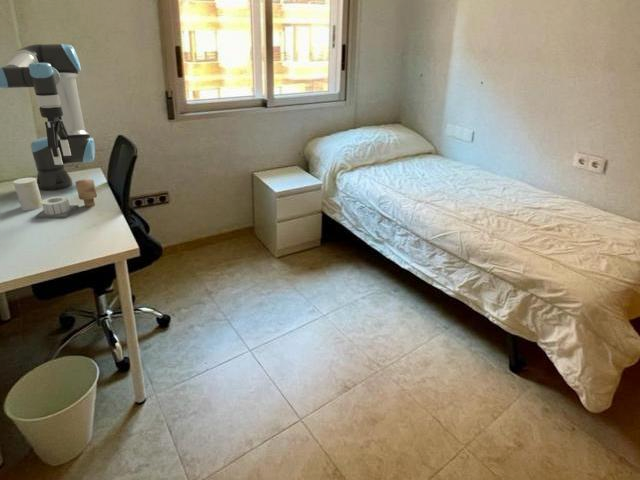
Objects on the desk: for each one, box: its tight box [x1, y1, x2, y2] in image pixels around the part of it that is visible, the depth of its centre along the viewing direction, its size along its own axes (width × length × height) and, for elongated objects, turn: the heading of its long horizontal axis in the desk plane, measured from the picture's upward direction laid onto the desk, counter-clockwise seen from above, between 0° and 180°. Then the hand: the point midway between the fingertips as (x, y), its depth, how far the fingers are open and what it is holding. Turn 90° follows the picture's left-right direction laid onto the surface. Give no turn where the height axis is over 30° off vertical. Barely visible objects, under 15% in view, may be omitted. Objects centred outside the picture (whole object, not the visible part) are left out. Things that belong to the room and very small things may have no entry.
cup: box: [13, 177, 43, 211], centre depth 188 cm, size 8×8×12 cm
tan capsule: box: [75, 178, 98, 208], centre depth 190 cm, size 7×7×11 cm
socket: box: [35, 195, 80, 219], centre depth 184 cm, size 12×12×6 cm
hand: (63, 159), depth 178 cm, fingers open, 13 cm apart
